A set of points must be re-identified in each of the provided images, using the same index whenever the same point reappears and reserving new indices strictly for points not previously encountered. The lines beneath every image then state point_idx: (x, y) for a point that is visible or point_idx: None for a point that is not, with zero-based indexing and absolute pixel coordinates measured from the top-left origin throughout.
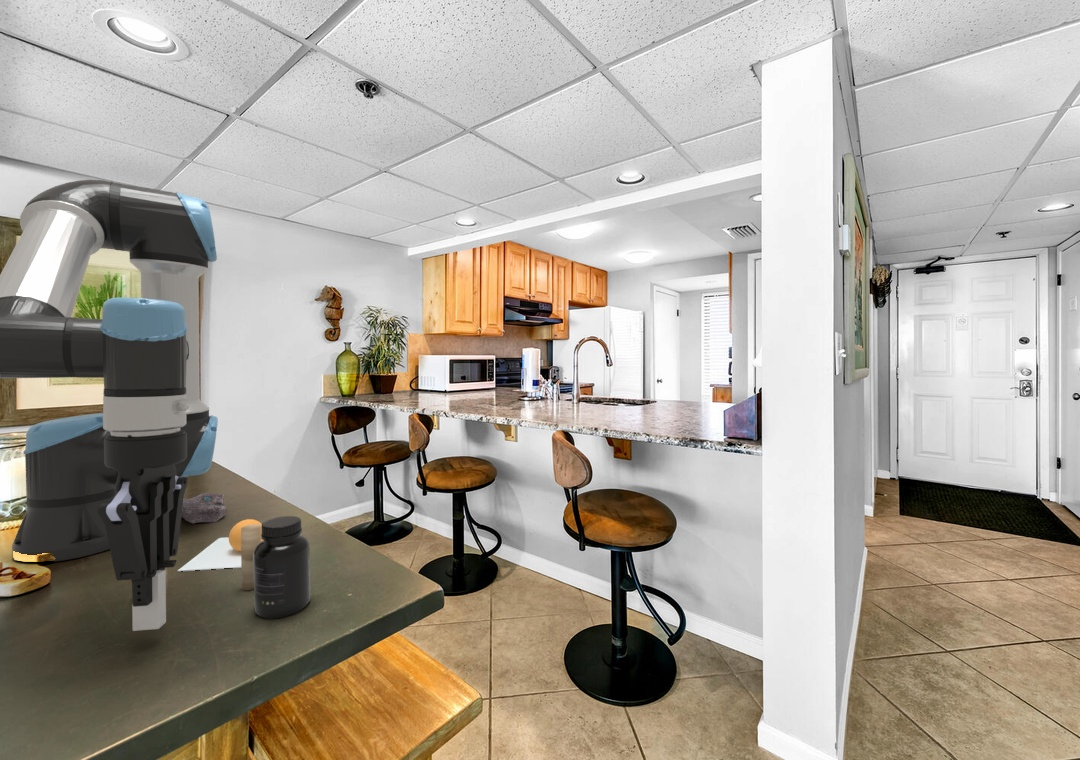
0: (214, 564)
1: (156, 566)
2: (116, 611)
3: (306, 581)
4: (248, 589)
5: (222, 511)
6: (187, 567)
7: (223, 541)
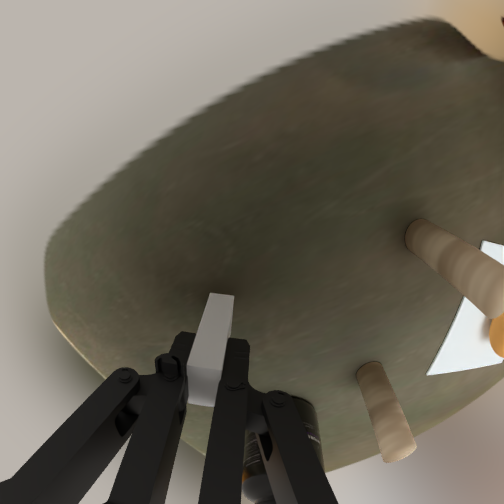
0: None
1: (184, 417)
2: (369, 192)
3: None
4: (356, 374)
5: None
6: (487, 252)
7: None
